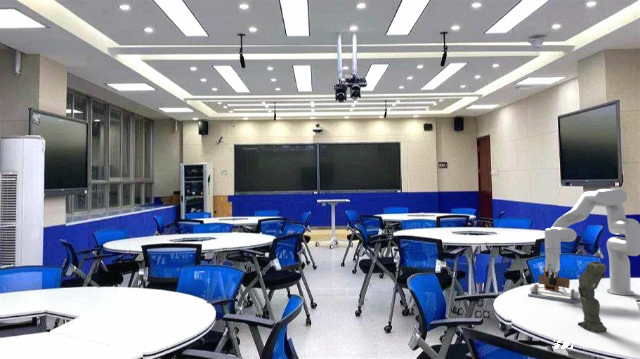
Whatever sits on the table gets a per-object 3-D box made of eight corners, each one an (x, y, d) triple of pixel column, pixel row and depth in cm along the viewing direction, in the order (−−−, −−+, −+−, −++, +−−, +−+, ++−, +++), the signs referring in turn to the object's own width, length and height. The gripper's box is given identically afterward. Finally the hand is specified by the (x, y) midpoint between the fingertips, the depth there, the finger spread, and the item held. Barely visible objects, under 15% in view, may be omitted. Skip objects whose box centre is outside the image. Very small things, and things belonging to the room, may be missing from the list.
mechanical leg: (569, 320, 188) (578, 256, 181) (584, 319, 188) (594, 256, 182) (591, 338, 174) (602, 270, 168) (607, 337, 175) (619, 269, 168)
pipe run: (535, 292, 243) (535, 281, 243) (581, 299, 227) (580, 287, 227) (527, 296, 234) (527, 285, 234) (574, 303, 218) (574, 291, 218)
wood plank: (537, 284, 235) (537, 275, 235) (539, 283, 236) (538, 274, 236) (569, 288, 224) (568, 279, 224) (570, 287, 226) (569, 278, 226)
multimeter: (571, 290, 247) (570, 255, 248) (563, 292, 241) (562, 257, 242) (546, 285, 259) (545, 253, 260) (537, 288, 254) (536, 254, 254)
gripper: (549, 248, 239) (550, 281, 239) (540, 251, 228) (541, 286, 228) (564, 250, 234) (565, 283, 233) (555, 253, 223) (556, 288, 223)
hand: (553, 284), depth 231 cm, fingers closed on wood plank, 1 cm apart
